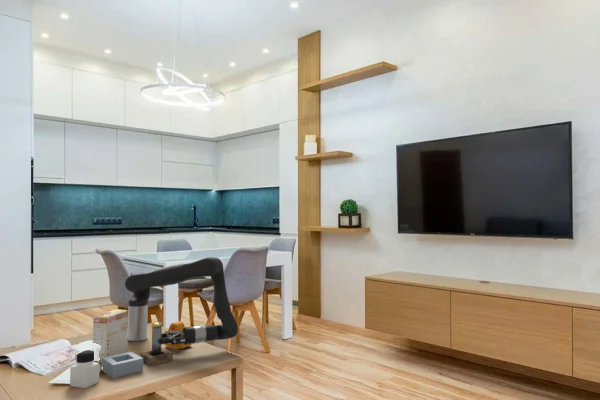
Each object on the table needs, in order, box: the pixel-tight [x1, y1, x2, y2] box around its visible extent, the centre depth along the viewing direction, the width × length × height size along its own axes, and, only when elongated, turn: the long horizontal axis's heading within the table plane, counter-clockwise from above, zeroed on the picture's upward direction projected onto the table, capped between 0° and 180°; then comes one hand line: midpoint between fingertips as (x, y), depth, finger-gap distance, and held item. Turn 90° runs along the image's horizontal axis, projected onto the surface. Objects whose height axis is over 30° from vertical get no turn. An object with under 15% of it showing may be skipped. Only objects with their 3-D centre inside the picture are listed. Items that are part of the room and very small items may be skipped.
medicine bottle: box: [69, 349, 100, 389], centre depth 166 cm, size 7×7×12 cm
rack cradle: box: [101, 351, 144, 379], centre depth 180 cm, size 12×12×5 cm
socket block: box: [139, 348, 174, 366], centre depth 194 cm, size 10×10×3 cm
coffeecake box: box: [92, 308, 128, 363], centre depth 198 cm, size 15×7×20 cm, turn 164°
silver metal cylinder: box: [151, 321, 163, 356], centre depth 194 cm, size 4×4×16 cm
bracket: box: [164, 320, 192, 350], centre depth 214 cm, size 11×7×12 cm, turn 62°
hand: (157, 339), depth 194 cm, fingers open, 8 cm apart
